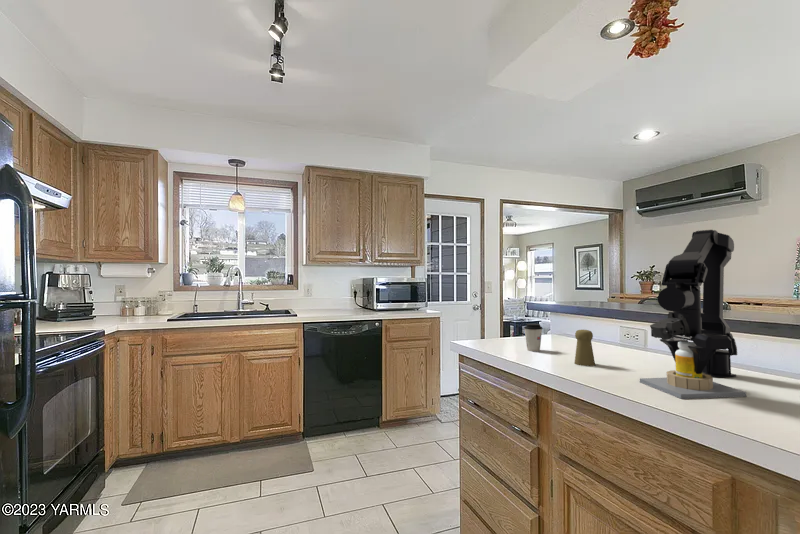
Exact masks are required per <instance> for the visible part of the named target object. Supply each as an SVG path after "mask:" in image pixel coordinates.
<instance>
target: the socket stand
mask: <svg viewBox="0 0 800 534" xmlns="http://www.w3.org/2000/svg"><path fill="white" fill-rule="evenodd" d="M713 379H714V377H713V376H710V375H707V374H704V373H702V378H687V377H682V376H677V375H676V369H675V370H669V371H666V377H641V378H639V383H640V384H643V385H646V386H647V387H650V388H654V389H656V390H658V391H662V392H663V393H665V394H668V395H671V396H673V397H676V398H678V399H681V400H682V399H685V400H686V399H709V398H710V399H711V398H713V399H714V398H736V397H737V398H738V397H740V398H741V397H747V392H746V391H744V390H740V389H738V388H735V387H731V386H728V385H725V384H722V383H719V382H715V381H714V380H713Z"/></svg>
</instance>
